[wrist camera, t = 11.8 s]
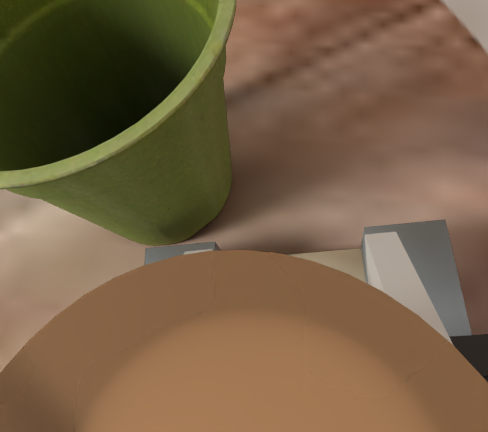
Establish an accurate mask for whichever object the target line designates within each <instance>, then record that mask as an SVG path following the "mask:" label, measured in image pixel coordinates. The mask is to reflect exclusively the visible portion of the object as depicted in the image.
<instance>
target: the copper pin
mask: <svg viewBox="0 0 488 432" xmlns="http://www.w3.org/2000/svg"><path fill="white" fill-rule="evenodd" d="M0 432H488V383H487V381H486V380H485V379H484V378H483V377H482V376H481V375H480V373H479V372H478V371H477V370H476V369H475V368H474V367H473V366H472V365H471V364H470V363H469V362H468V361H467V360H466V358H465V357H464V356H463V355H462V354H461V353H460V352H459V351H458V350H457V349H456V348H455V347H454V346H453V345H452V344H451V343H450V342H449V341H448V340H447V339H445V338H444V337H443V336H442V335H441V334H440V333H438V332H437V331H436V330H435V329H434V328H433V327H431V326H430V325H429V324H428V323H427V322H426V321H424V320H423V319H422V318H421V317H420V316H419V315H417V314H416V313H414V312H413V311H411V310H410V309H408V308H407V307H405V306H404V305H402V304H401V303H399V302H398V301H396V300H395V299H393V298H392V297H390V296H389V295H387V294H386V293H384V292H383V291H381V290H379V289H377V288H375V287H373V286H371V285H369V284H367V283H365V282H363V281H361V280H359V279H357V278H355V277H353V276H351V275H349V274H347V273H344V272H342V271H339V270H336V269H333V268H331V267H328V266H325V265H323V264H320V263H317V262H314V261H311V260H306V259H302V258H298V257H293V256H289V255H284V254H280V253H273V252H262V251H252V250H215V251H205V252H198V253H192V254H185V255H179V256H175V257H171V258H168V259H164V260H161V261H157V262H154V263H150V264H147V265H144V266H142V267H139V268H137V269H135V270H132V271H130V272H127V273H125V274H123V275H120V276H118V277H116V278H114V279H112V280H110V281H108V282H107V283H105V284H103V285H101V286H100V287H98V288H96V289H94V290H92V291H91V292H89V293H87V294H85V295H84V296H83V297H81V298H80V299H78V300H77V301H76V302H74V303H73V304H72V305H70V306H69V307H67V308H66V309H65V310H63V311H62V312H61V313H59V314H58V315H57V316H55V317H54V318H53V319H52V320H51V321H50V322H49V323H48V324H47V325H45V326H44V327H43V328H42V329H41V330H40V331H39V332H38V333H37V334H36V335H35V336H33V337H32V338H31V339H30V340H29V341H28V342H27V343H26V344H25V346H24V347H23V348H22V349H21V350H20V351H19V352H18V353H17V355H16V356H15V357H14V358H13V359H12V360H11V361H10V362H9V364H8V365H7V366H6V367H5V368H4V369H3V371H2V372H1V373H0Z"/></svg>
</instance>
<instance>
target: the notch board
mask: <svg viewBox="0 0 488 432" xmlns="http://www.w3.org/2000/svg"><path fill="white" fill-rule="evenodd" d="M386 232H396V233H397V235H398V237H399V239H400V241H401V243H402V245H403V247H404V249H405V251H406V253H407V254H408V256H409V258H410V260H411V262H412V264H413V266H414V268H415V270H416V272H417V274H418V276H419V278H420V280H421V282H422V284H423V286H424V288H425V290H426V292H427V294H428V296H429V298H430V300H431V302H432V304H433V306H434V308H435V310H436V312H437V314H438V316H439V318H440V320H441V322H442V324H443V326H444V328H445V330H446V332H447V333H448V335H449V336H467V335H472V333H471V329H470V324H469V320H468V316H467V311H466V307H465V303H464V298H463V294H462V290H461V285H460V281H459V277H458V272H457V268H456V264H455V260H454V255H453V251H452V247H451V242H450V238H449V234H448V229H447V225H446V221H445V220H436V221H425V222H415V223H405V224H394V225H384V226H373V227H364V232H363V238H362V245H361V248H358V249H346V250H335V251H324V252H312V253H301V254H290V255H289V256H293V257H298V258H302V259H306V260H311V261H314V262H317V263H320V264H323V265H325V266H328V267H331V268H333V269H336V270H339V271H342V272H344V273H347V274H349V275H351V276H353V277H355V278H357V279H359V280H361V281H363V282H365V283H367V284H368V276H367V261H366V245H365V234H376V233H386ZM207 249H212V250H213V251H215V250H220V248H219V247H218V246H217V244H216V243H215V242H206V243H195V244H185V245H174V246H164V247H154V248H146V249H145V265H147V264H150V263H154V262H157V261H161V260H164V259H168V258H171V257H175V256H179V255H183V254H184V252H186V251H196V250H207Z"/></svg>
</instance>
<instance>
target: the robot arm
mask: <svg viewBox="0 0 488 432" xmlns="http://www.w3.org/2000/svg"><path fill="white" fill-rule="evenodd" d="M365 245H366V261H367V276H368V284H369V285H371V286H373V287H375V288H377V289H379V290H381V291H383V292H384V293H386V294H387V295H389V296H390V297H392V298H393V299H395V300H396V301H398V302H399V303H401V304H402V305H404V306H405V307H407V308H408V309H410V310H411V311H413V312H414V313H416V314H417V315H419V316H420V317H421V318H422V319H423V320H424V321H426V322H427V323H428V324H429V325H430V326H431V327H433V328H434V329H435V330H436V331H437V332H438V333H440V334H441V335H442V336H443V337H444V338H445V339H447V340H448V341H449V342H450V343H451V344H452V345H453V346H454V347H455V348H456V349H457V350H458V351H459V352H460V353H461V354H462V355H463V356H464V357H465V358H466V360H467V361H468V362H469V363H470V364H471V365H472V366H473V367H474V368H475V369H476V370H477V371H478V372H479V373H480V375H481V376H482V377H483V378H484V379H485V380H486V381H487V383H488V334H484V335H467V336H449V335H448V333H447V332H446V330H445V328H444V326H443V324H442V322H441V320H440V318H439V316H438V314H437V312H436V310H435V308H434V306H433V304H432V302H431V300H430V298H429V296H428V294H427V292H426V290H425V288H424V286H423V284H422V282H421V280H420V278H419V276H418V274H417V272H416V270H415V268H414V266H413V264H412V262H411V260H410V258H409V256H408V254H407V253H406V251H405V249H404V247H403V245H402V243H401V241H400V239H399V237H398V235H397V233H396V232H386V233H376V234H365ZM205 251H213V250H212V249H207V250H196V251H186V252H184V254H183V255H185V254H192V253H198V252H205Z"/></svg>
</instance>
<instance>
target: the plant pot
mask: <svg viewBox="0 0 488 432" xmlns="http://www.w3.org/2000/svg"><path fill="white" fill-rule="evenodd" d="M235 10H236V0H0V189H6V190H8V191H11V192H13V193H16V194H20V195H23V196H27V197H31V198H38V199H42V200H44V201H46V202H48V203H51V204H53V205H55V206H57V207H59V208H61V209H64V210H66V211H68V212H70V213H72V214H75V215H77V216H79V217H81V218H84V219H86V220H88V221H90V222H92V223H94V224H97V225H99V226H101V227H103V228H105V229H107V230H109V231H112V232H114V233H116V234H118V235H121V236H123V237H125V238H127V239H129V240H132V241H135V242H137V243H140V244H145V245H152V246H158V245H168V244H173V243H177V242H180V241H183V240H185V239H188V238H190V237H191V236H193V235H194V234H195V233H196V232H198V231H199V230H200V229H201V228H203V227H204V226H205V225H207V224H208V223H209V222H210V221H212V220H213V219H214V218H215V217H216V216H217V215H218V214H219V213H220V211H221V210H222V208H223V206H224V204H225V202H226V200H227V198H228V195H229V192H230V189H231V183H232V167H231V156H230V146H229V135H228V125H227V114H226V104H225V93H224V82H223V77H224V72H225V64H226V43H227V40H228V37H229V34H230V31H231V28H232V25H233V20H234V15H235Z"/></svg>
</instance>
